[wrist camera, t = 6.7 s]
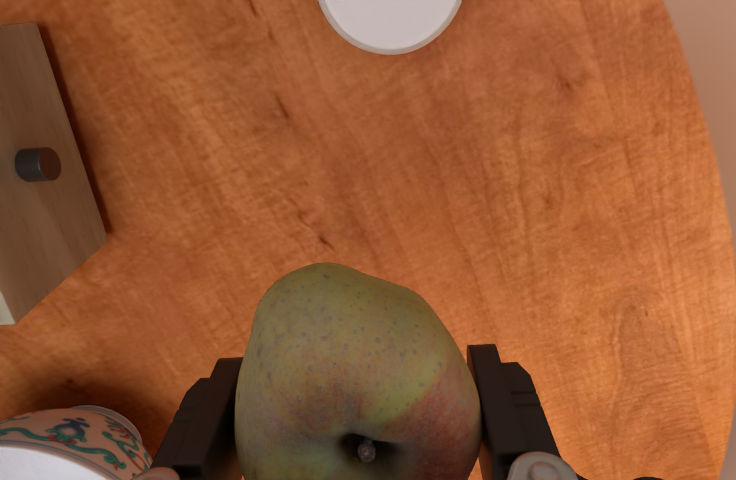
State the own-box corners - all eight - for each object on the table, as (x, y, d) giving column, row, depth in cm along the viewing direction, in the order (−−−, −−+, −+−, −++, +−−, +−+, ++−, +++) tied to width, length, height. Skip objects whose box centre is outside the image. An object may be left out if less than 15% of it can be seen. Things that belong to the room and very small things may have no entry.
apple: (313, 448, 18) (282, 646, 12) (221, 250, 14) (123, 405, 9) (486, 416, 17) (532, 615, 11) (431, 197, 13) (460, 334, 8)
